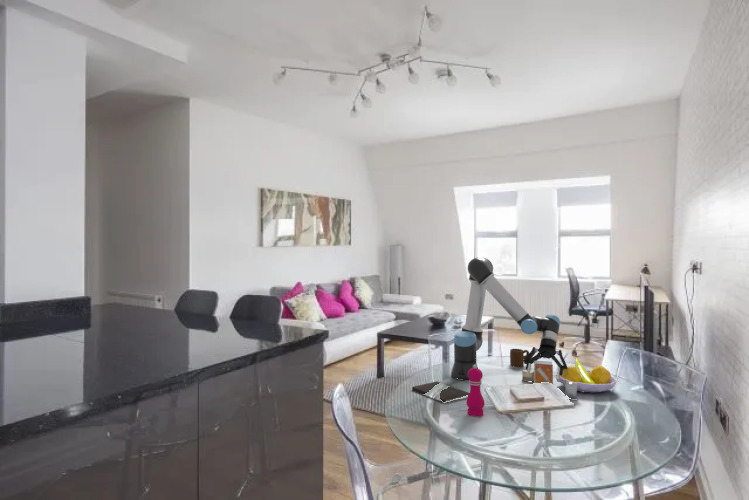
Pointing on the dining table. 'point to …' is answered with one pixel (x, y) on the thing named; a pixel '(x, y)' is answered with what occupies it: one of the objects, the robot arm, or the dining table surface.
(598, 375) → the fruit bowl
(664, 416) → the dining table surface
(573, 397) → the grey metal tin
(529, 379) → the birch block
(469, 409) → the pepper mill
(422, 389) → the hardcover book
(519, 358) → the mug
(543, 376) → the small box
